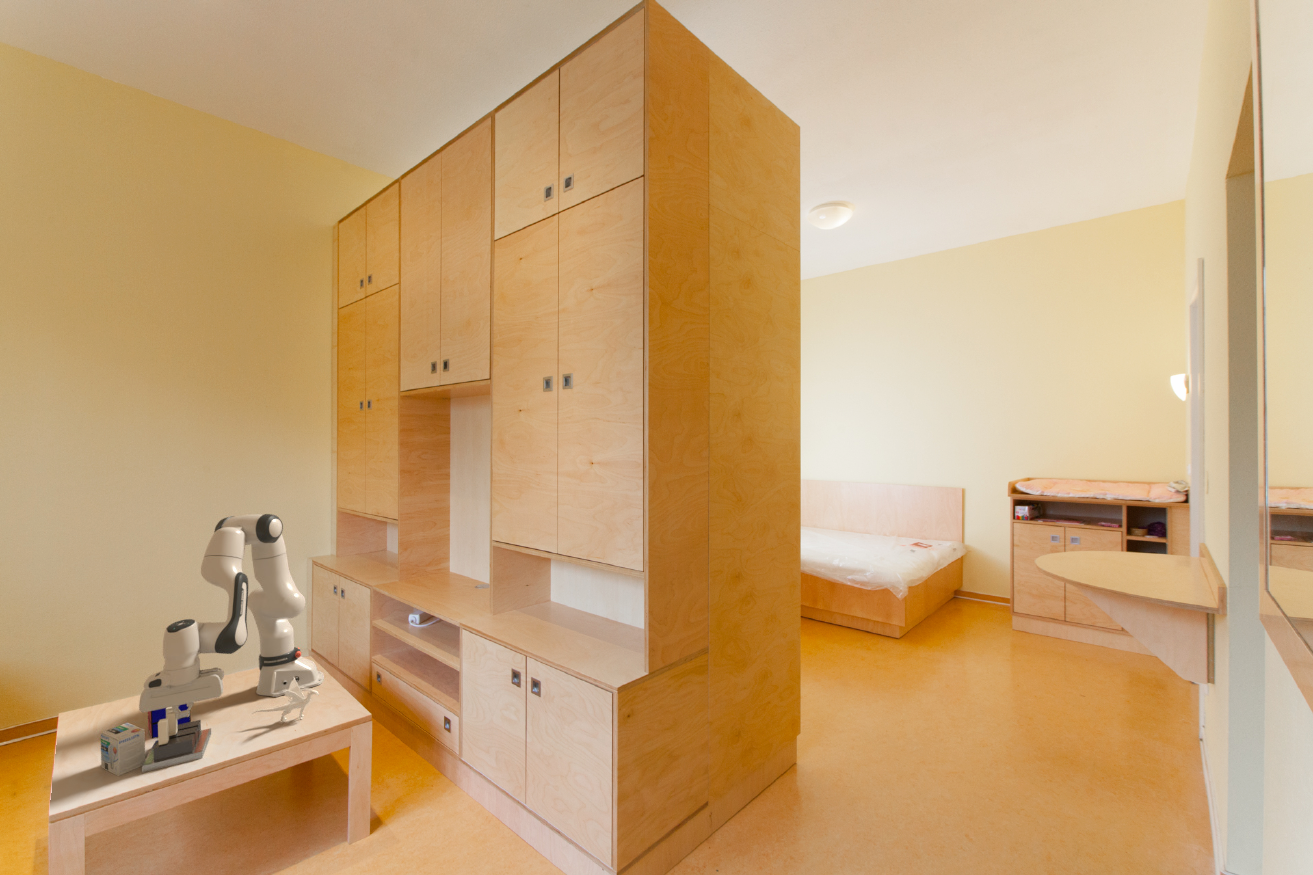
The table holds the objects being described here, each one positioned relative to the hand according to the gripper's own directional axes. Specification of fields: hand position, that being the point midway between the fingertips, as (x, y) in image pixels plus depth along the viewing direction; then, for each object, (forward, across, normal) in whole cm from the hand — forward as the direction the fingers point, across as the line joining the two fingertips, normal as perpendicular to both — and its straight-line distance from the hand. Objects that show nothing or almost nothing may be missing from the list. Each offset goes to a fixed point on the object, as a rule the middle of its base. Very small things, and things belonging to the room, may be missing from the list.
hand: (183, 717), depth 177 cm
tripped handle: (+4, +3, 0) cm, 5 cm away
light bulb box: (+11, +14, 0) cm, 18 cm away
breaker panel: (+11, +1, 0) cm, 11 cm away
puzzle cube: (+11, +7, -21) cm, 25 cm away
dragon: (+11, -27, -5) cm, 29 cm away
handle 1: (+4, +4, +5) cm, 8 cm away
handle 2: (+4, +4, -5) cm, 8 cm away
